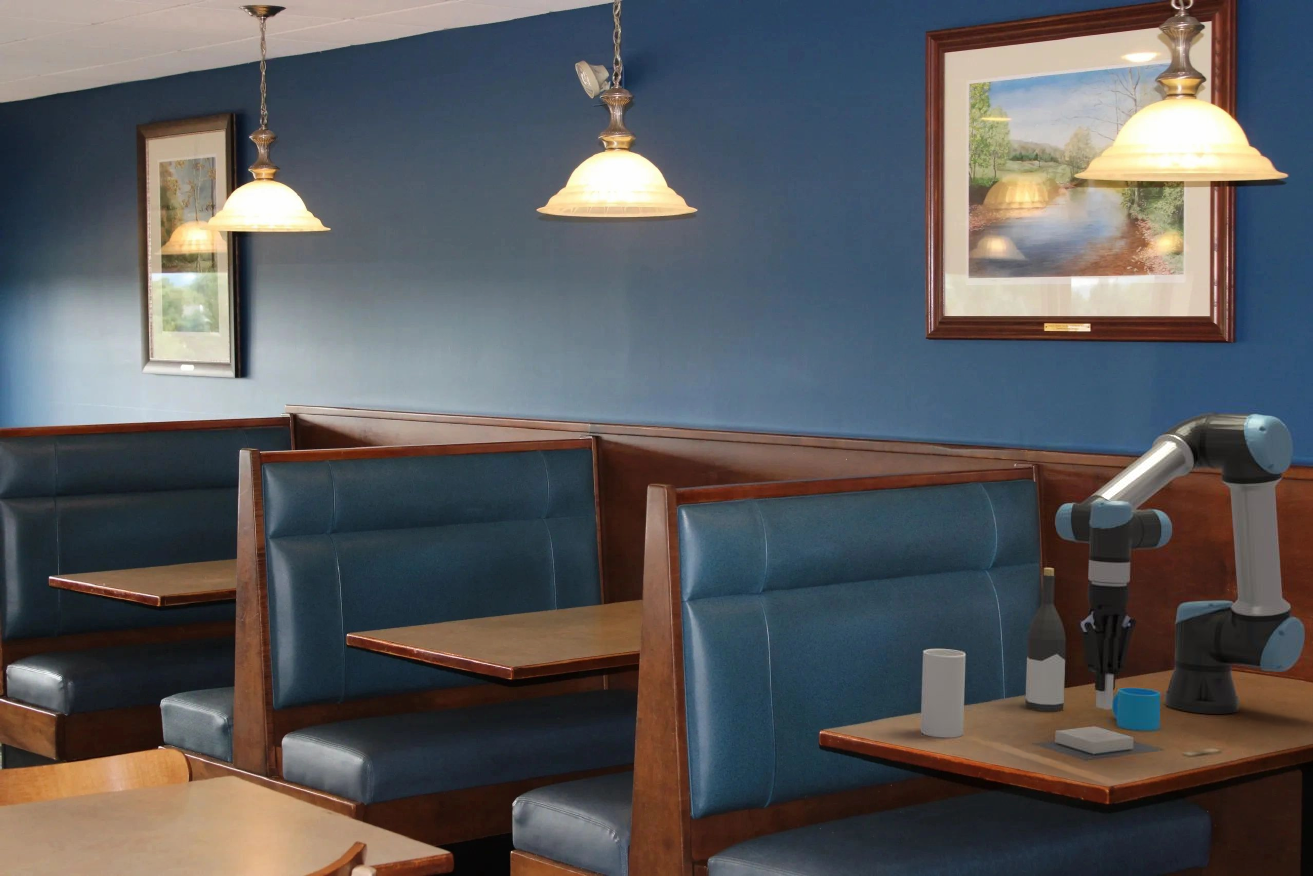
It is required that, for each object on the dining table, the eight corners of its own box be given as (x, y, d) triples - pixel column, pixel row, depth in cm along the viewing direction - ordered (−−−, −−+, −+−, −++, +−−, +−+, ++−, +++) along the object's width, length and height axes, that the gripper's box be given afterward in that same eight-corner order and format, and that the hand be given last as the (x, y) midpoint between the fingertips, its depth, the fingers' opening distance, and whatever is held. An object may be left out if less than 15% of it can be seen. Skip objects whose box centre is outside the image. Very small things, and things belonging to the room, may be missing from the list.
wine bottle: (1050, 703, 339) (1054, 565, 338) (1071, 711, 332) (1076, 570, 331) (1017, 704, 337) (1022, 566, 336) (1038, 712, 329) (1042, 571, 328)
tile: (1094, 726, 301) (1055, 731, 296) (1133, 737, 292) (1093, 742, 287) (1094, 739, 301) (1054, 743, 296) (1133, 750, 292) (1093, 755, 287)
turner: (1204, 754, 295) (1204, 745, 295) (1229, 761, 290) (1229, 753, 290) (1141, 763, 288) (1142, 755, 288) (1166, 771, 282) (1167, 762, 282)
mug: (1168, 735, 311) (1169, 694, 311) (1134, 738, 308) (1136, 697, 308) (1128, 722, 322) (1130, 683, 322) (1096, 724, 319) (1097, 685, 319)
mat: (1109, 740, 306) (1109, 733, 306) (1164, 756, 293) (1164, 749, 293) (1031, 749, 296) (1032, 743, 296) (1085, 766, 284) (1085, 760, 284)
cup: (965, 730, 311) (968, 650, 310) (959, 739, 303) (962, 657, 302) (924, 726, 313) (926, 647, 313) (917, 735, 306) (919, 654, 305)
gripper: (1119, 579, 300) (1114, 701, 301) (1068, 582, 294) (1064, 706, 295) (1148, 584, 294) (1144, 708, 295) (1097, 587, 287) (1093, 714, 288)
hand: (1104, 707), depth 295 cm, fingers closed
